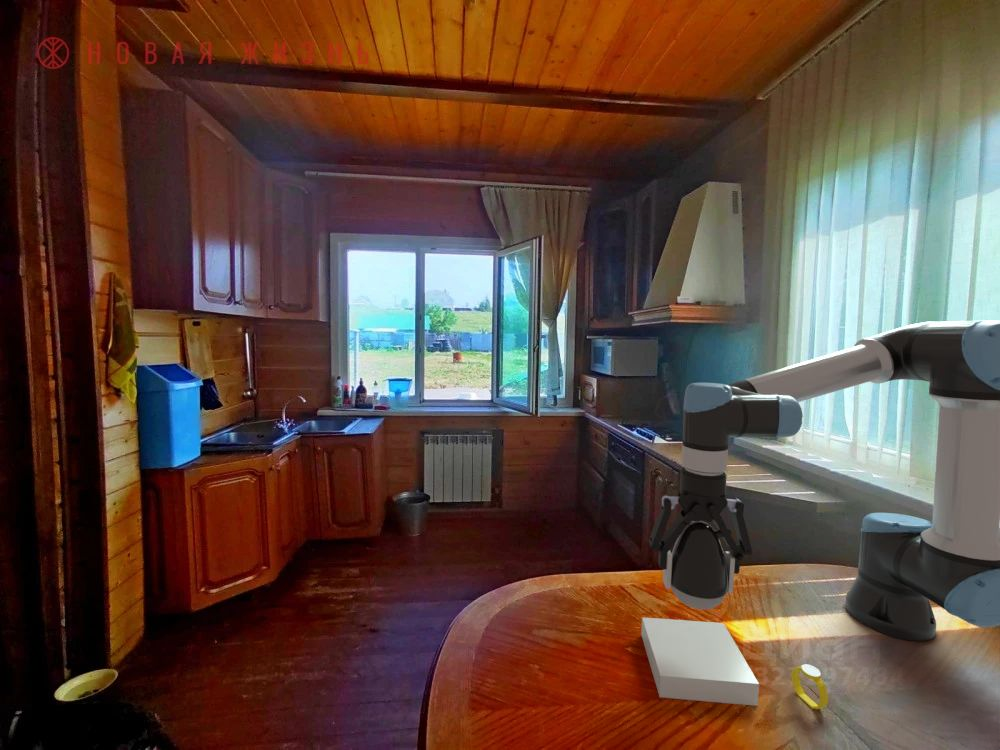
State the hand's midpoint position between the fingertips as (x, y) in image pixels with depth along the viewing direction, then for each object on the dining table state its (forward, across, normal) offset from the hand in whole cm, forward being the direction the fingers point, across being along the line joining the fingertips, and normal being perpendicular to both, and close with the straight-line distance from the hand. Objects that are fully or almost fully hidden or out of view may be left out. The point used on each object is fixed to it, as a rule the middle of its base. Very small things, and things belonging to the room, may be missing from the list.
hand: (697, 586), depth 84 cm
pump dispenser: (+3, 0, 0) cm, 3 cm away
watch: (+16, -17, +6) cm, 24 cm away
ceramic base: (+16, 0, 0) cm, 16 cm away
